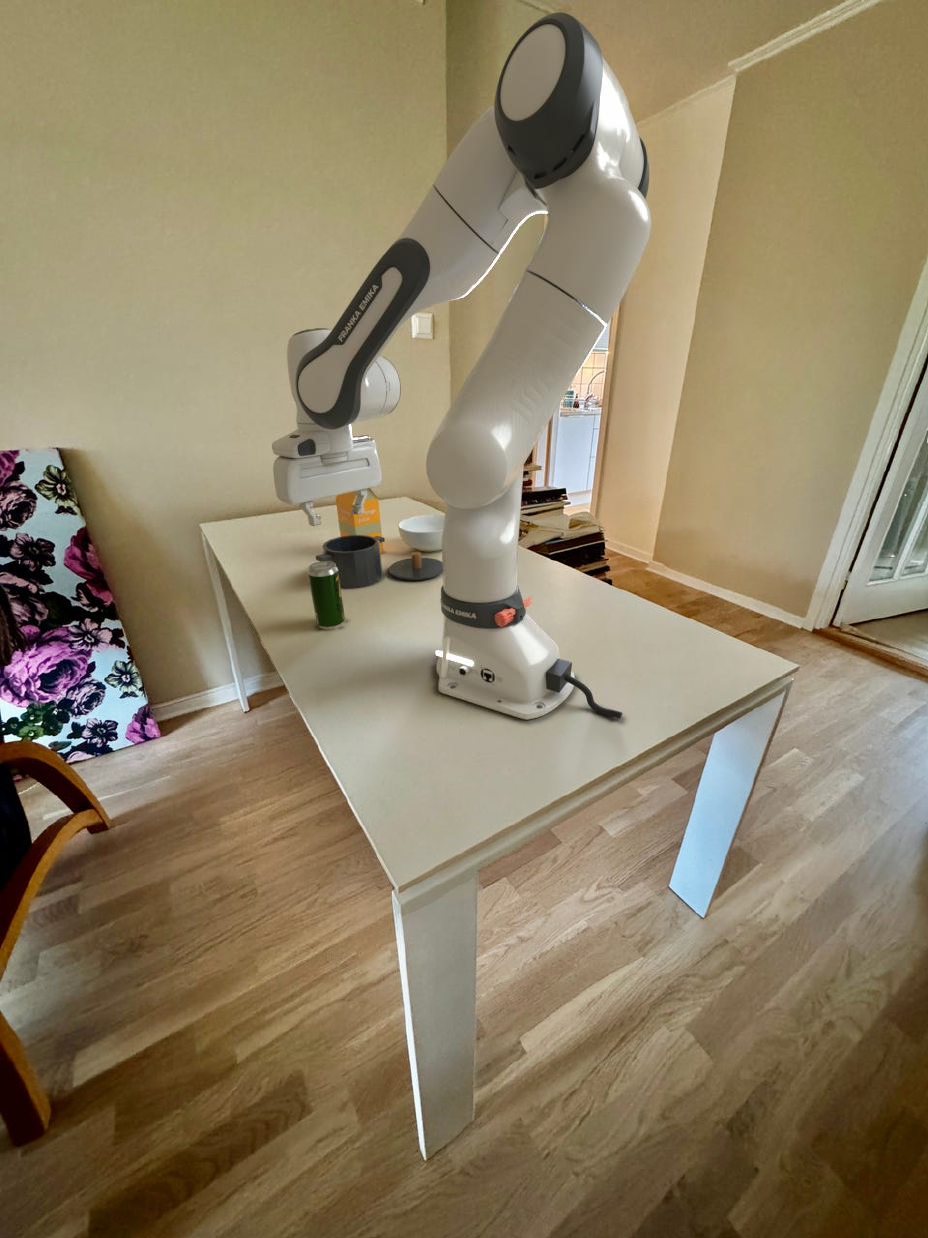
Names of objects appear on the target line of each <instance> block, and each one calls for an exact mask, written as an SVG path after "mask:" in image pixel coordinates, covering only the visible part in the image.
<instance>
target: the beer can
mask: <svg viewBox="0 0 928 1238" xmlns="http://www.w3.org/2000/svg"><path fill="white" fill-rule="evenodd" d="M307 569H308V570H307V576H308V577H307V578H308V581H309V582H308V583H309V587H310V593H311V599H312V605H313V609H314V617H315V622H316V625H317V626H318V627H319V628H320V629H321V630H327V631H329V630H336V629H339V628H341V627H342V626H343V625H344V624H345V621H346V616H345V608H344V603H343V595H342V588H341V587H340V580H339V574H338V569H337V567H336V564H335V563H334V562H330V561H321V562H320V561H317V562H313V563H310V564H309V565H308V567H307Z"/></svg>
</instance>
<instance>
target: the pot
mask: <svg viewBox="0 0 928 1238" xmlns="http://www.w3.org/2000/svg"><path fill="white" fill-rule="evenodd" d="M385 541H386V540H385V537H384V536H382V537H380V536H376V537H372V536H366V535H348V536H342V537H341V536H337V537H334V538H330V539H328V540H327V541H325V542H324V543H323V544H322V553H320V554H317V555H315V560H316V561H317V562H321V561H330V562H334V563H335V564H336V567H337V569H338V574H339V580H340V587H341V589H358V588H364V587H368V586H372V585H374V584H376V583H378V582H379V581H380V580H382V578H383V566H382V565H383V564H382V555H381V554H382V553H380V543H382V544H383V543H384V542H385Z"/></svg>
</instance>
